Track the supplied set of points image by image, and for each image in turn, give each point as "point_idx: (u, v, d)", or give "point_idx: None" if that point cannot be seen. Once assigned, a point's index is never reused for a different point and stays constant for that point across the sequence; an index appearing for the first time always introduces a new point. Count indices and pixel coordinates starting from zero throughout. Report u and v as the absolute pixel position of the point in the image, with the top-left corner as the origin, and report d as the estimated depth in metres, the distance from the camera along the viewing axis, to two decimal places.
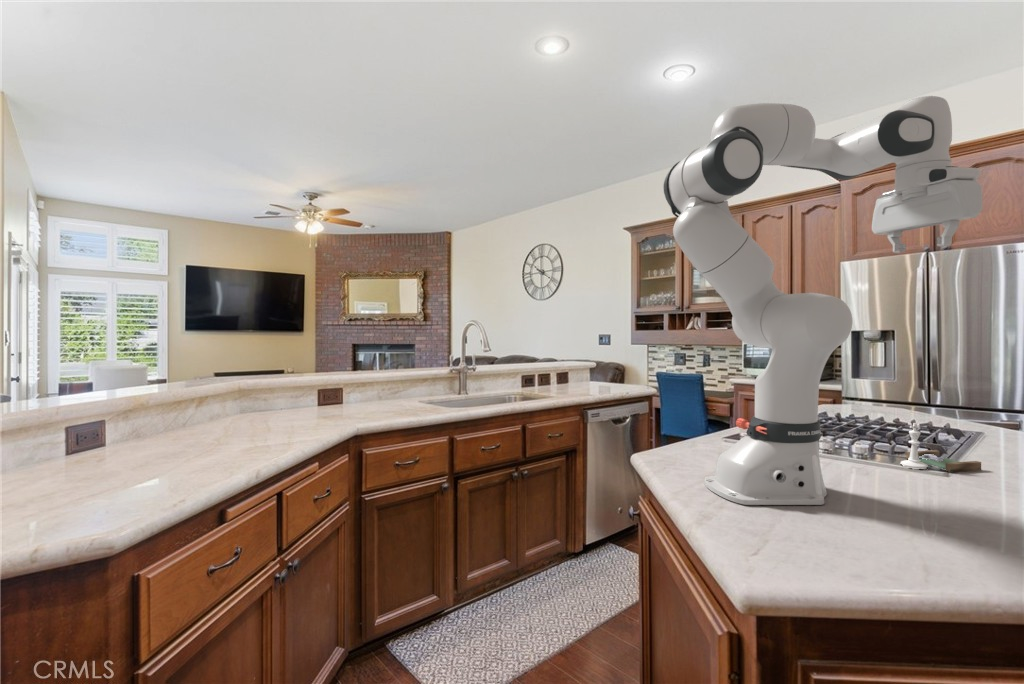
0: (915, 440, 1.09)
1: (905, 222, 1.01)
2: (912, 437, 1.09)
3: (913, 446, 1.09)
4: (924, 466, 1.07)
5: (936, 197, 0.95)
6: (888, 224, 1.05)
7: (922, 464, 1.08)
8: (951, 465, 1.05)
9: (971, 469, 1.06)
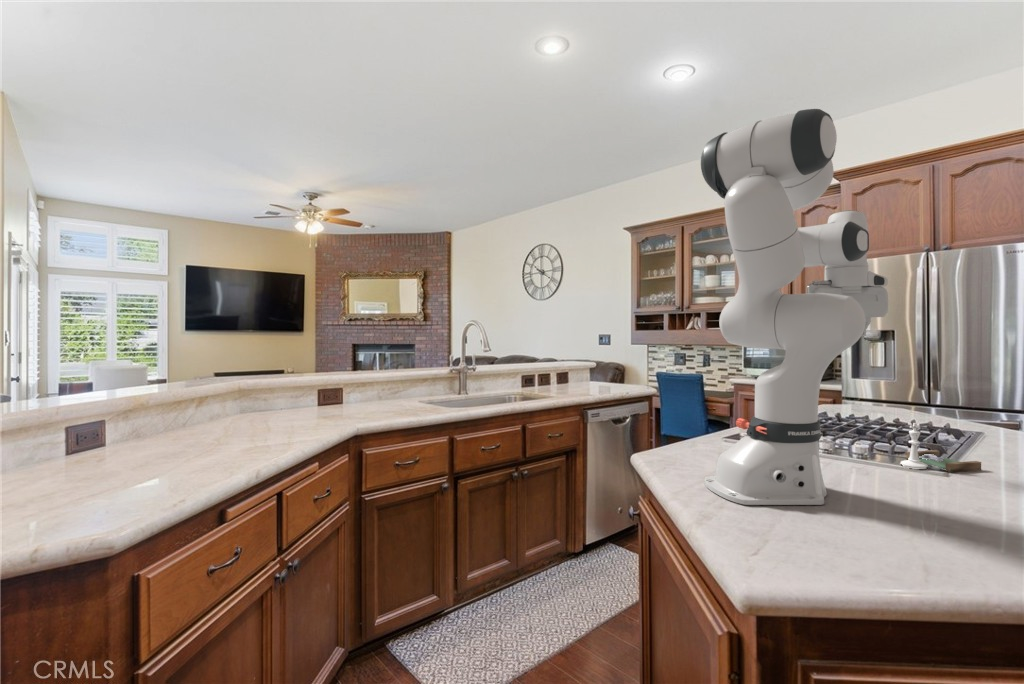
0: (915, 440, 1.09)
1: None
2: (912, 437, 1.09)
3: (913, 446, 1.09)
4: (924, 466, 1.07)
5: (866, 297, 1.17)
6: None
7: (922, 464, 1.08)
8: (951, 465, 1.05)
9: (971, 469, 1.06)
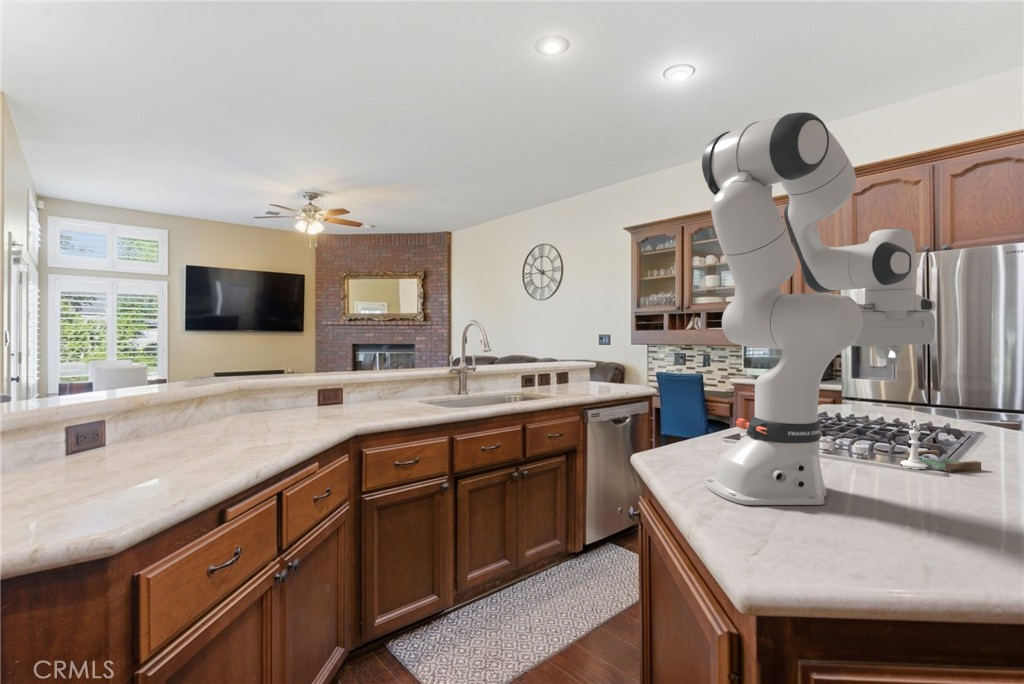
0: (915, 440, 1.09)
1: (889, 340, 1.06)
2: (912, 437, 1.09)
3: (913, 446, 1.09)
4: (924, 466, 1.07)
5: (912, 322, 1.07)
6: (874, 338, 1.05)
7: (922, 464, 1.08)
8: (951, 465, 1.05)
9: (971, 469, 1.06)
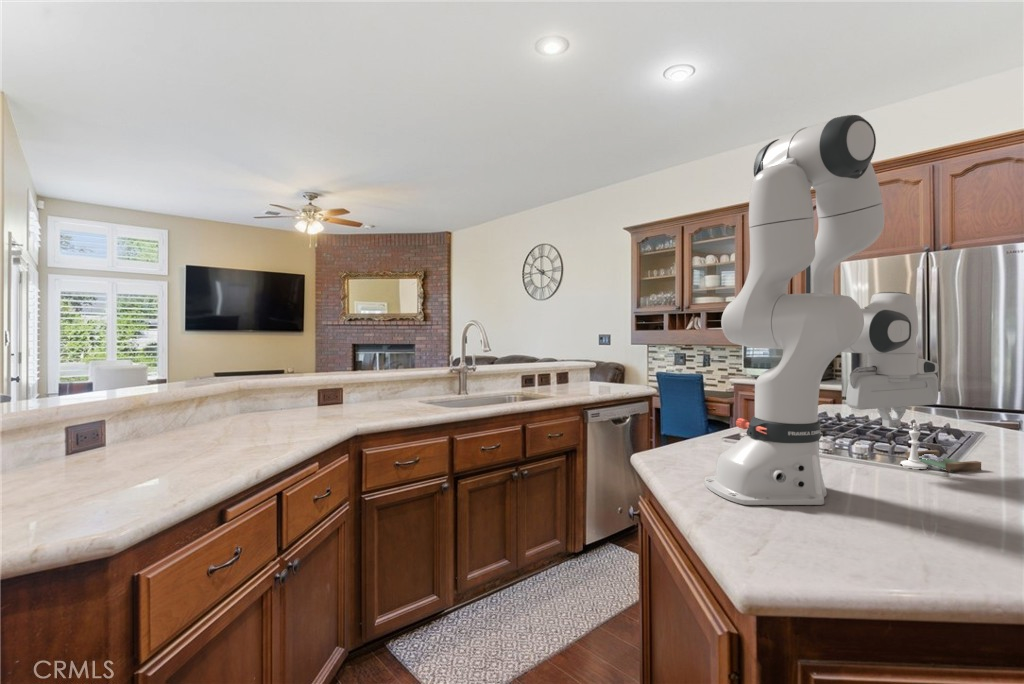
0: (915, 440, 1.09)
1: (892, 403, 1.06)
2: (912, 437, 1.09)
3: (913, 446, 1.09)
4: (924, 466, 1.07)
5: (915, 384, 1.07)
6: (876, 402, 1.05)
7: (922, 464, 1.08)
8: (951, 465, 1.05)
9: (971, 469, 1.06)
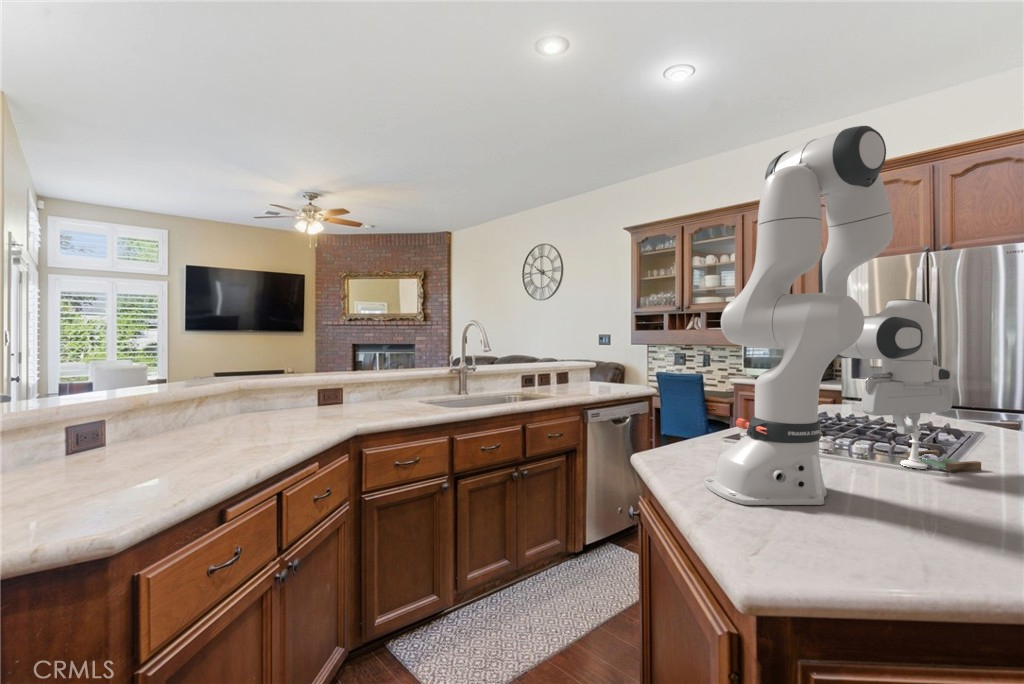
0: (916, 439, 1.09)
1: (907, 409, 1.07)
2: (913, 436, 1.09)
3: (914, 445, 1.09)
4: (924, 466, 1.07)
5: (929, 391, 1.08)
6: (891, 408, 1.06)
7: (922, 464, 1.08)
8: (951, 465, 1.05)
9: (971, 469, 1.06)
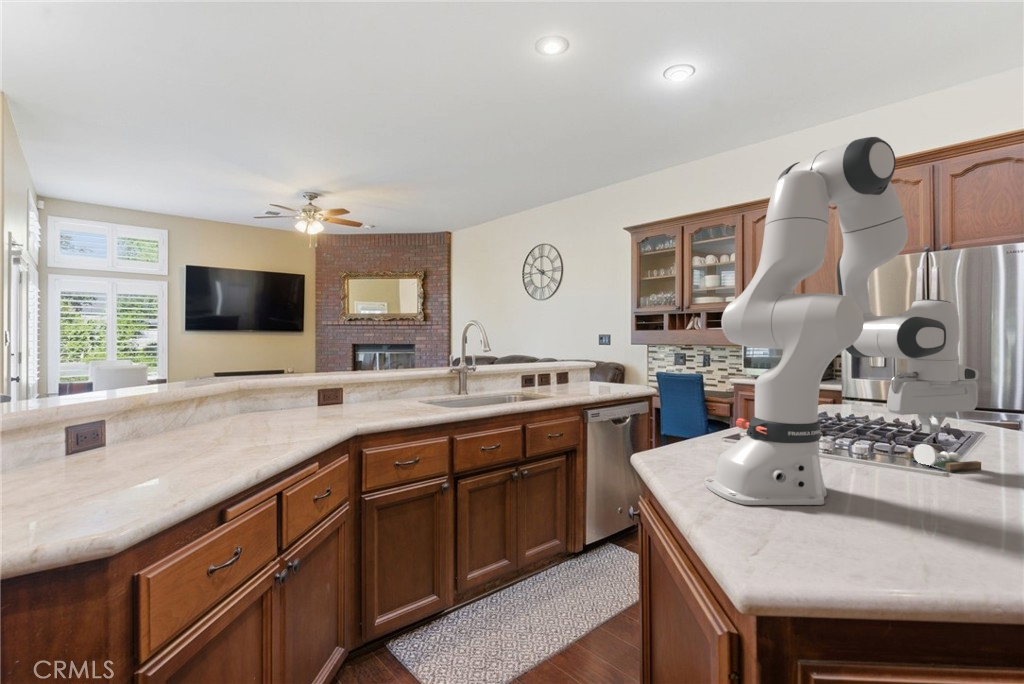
0: None
1: (933, 408, 1.07)
2: (949, 453, 1.11)
3: (942, 454, 1.10)
4: (936, 458, 1.08)
5: (955, 390, 1.08)
6: (917, 407, 1.07)
7: None
8: (951, 465, 1.05)
9: (971, 469, 1.06)
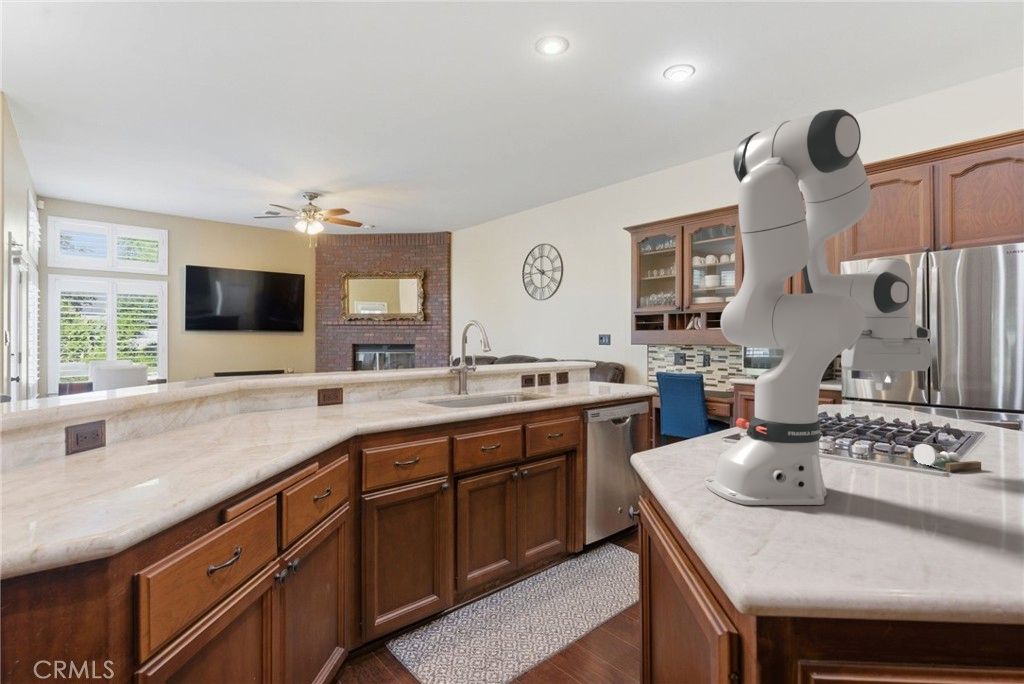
0: None
1: (885, 366, 1.10)
2: (949, 453, 1.11)
3: (942, 454, 1.10)
4: (936, 458, 1.08)
5: (908, 349, 1.11)
6: (870, 363, 1.09)
7: None
8: (951, 465, 1.05)
9: (971, 469, 1.06)
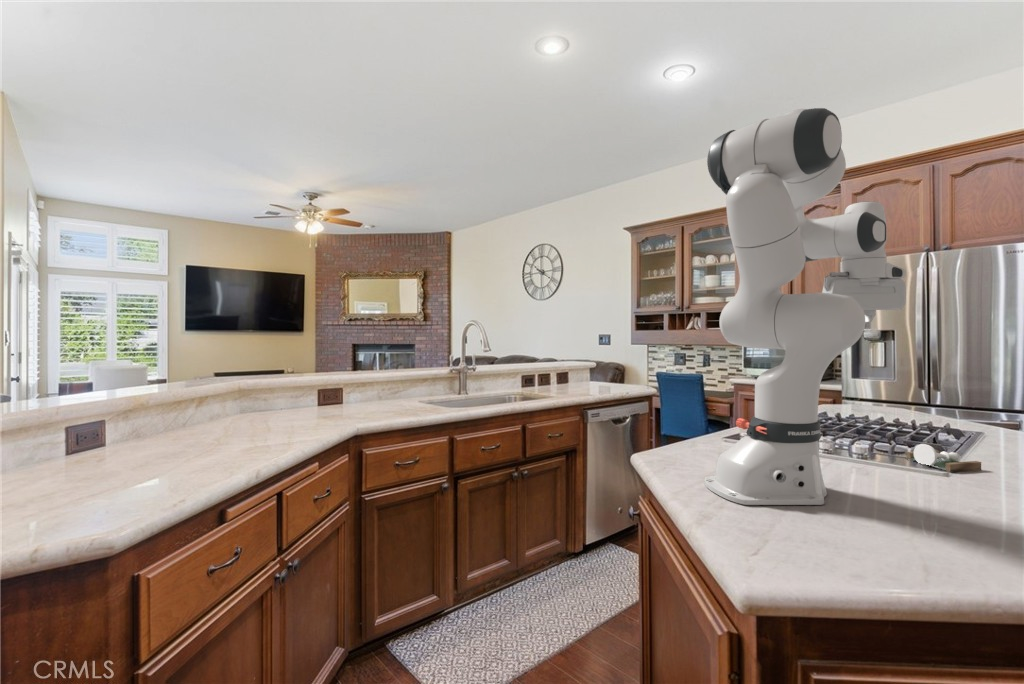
0: None
1: (863, 305, 1.14)
2: (949, 453, 1.11)
3: (942, 454, 1.10)
4: (936, 458, 1.08)
5: (884, 289, 1.15)
6: None
7: None
8: (951, 465, 1.05)
9: (971, 469, 1.06)
